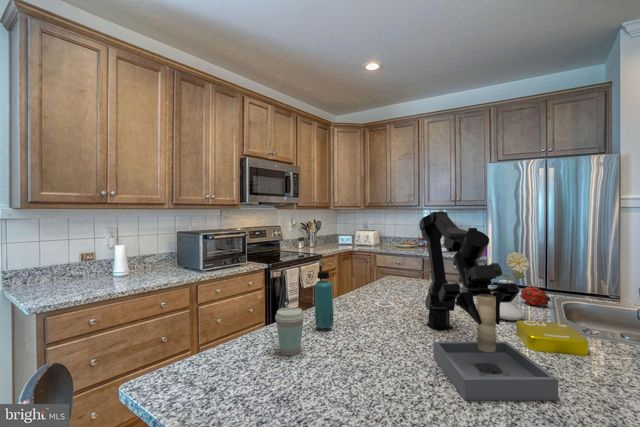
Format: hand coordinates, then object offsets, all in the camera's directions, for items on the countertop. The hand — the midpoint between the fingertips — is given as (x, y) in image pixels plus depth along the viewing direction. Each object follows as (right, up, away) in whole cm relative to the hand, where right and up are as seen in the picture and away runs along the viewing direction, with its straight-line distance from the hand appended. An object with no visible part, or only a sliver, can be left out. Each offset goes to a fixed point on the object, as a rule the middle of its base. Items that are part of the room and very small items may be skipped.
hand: (489, 323), depth 78 cm
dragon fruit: (+50, -12, +59) cm, 79 cm away
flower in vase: (+30, -13, +43) cm, 54 cm away
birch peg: (0, -7, +1) cm, 7 cm away
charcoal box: (+1, -13, +1) cm, 13 cm away
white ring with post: (-10, -14, +64) cm, 67 cm away
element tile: (+29, -13, +21) cm, 38 cm away
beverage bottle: (-39, -14, +35) cm, 54 cm away
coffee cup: (-50, -14, +17) cm, 54 cm away
